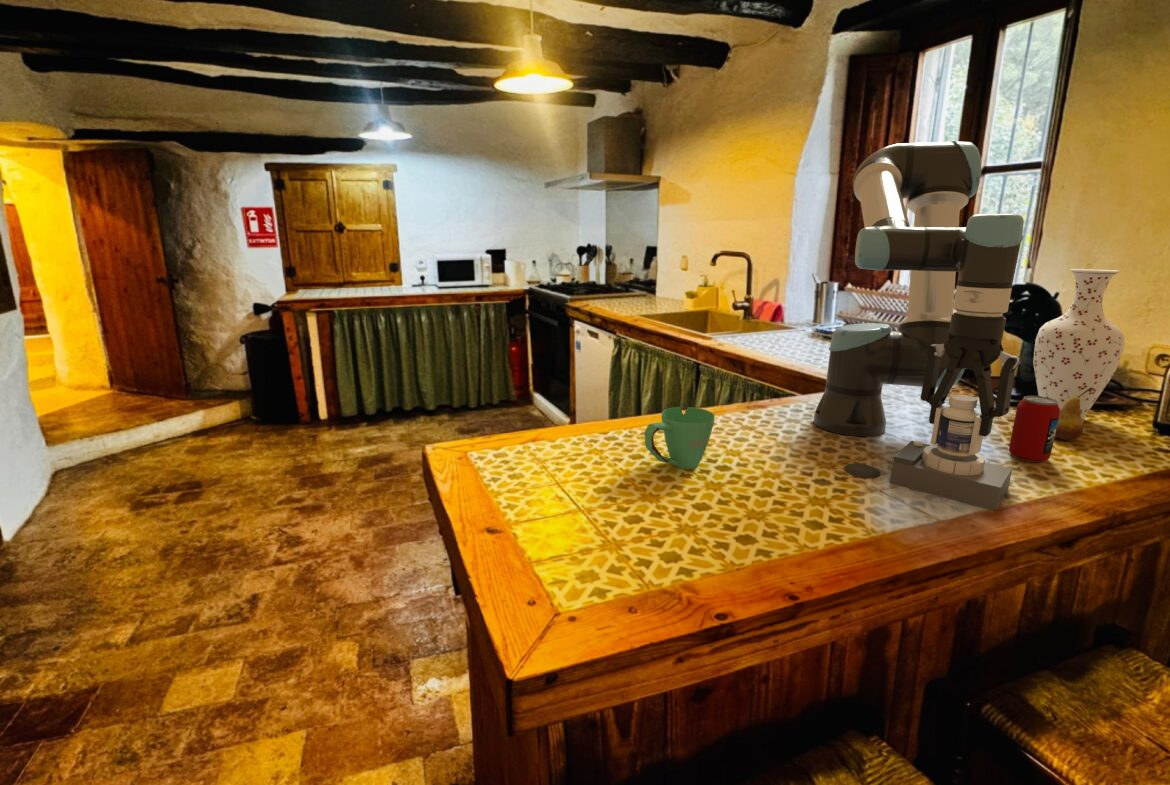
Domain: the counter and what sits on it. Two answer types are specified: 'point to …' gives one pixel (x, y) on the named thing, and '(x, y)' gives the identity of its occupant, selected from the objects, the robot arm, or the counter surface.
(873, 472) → the lens cap
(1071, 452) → the counter surface
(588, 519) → the counter surface
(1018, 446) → the beverage can
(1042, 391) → the vase
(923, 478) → the camera body
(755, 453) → the counter surface
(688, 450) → the mug
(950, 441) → the pill bottle
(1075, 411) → the fruit
